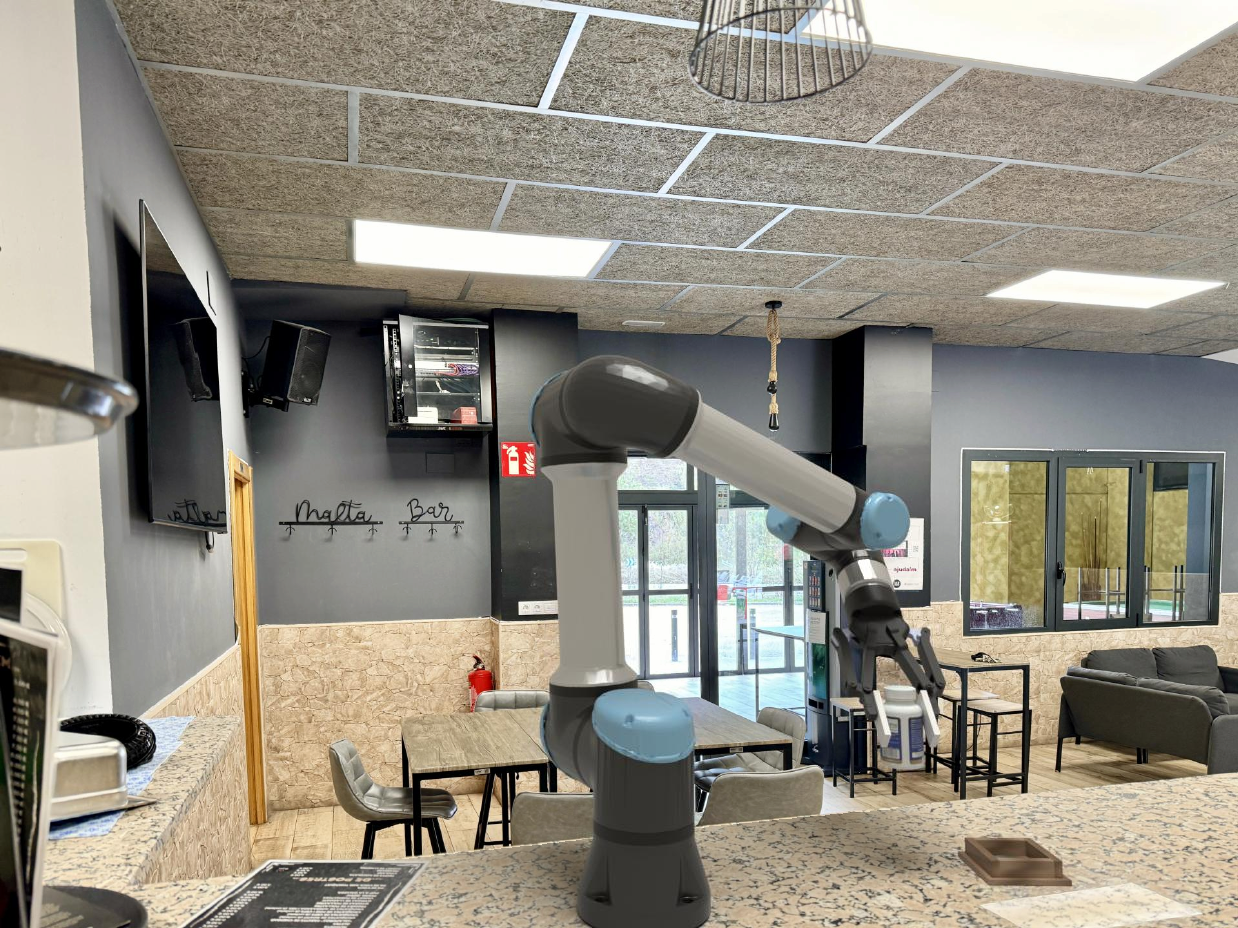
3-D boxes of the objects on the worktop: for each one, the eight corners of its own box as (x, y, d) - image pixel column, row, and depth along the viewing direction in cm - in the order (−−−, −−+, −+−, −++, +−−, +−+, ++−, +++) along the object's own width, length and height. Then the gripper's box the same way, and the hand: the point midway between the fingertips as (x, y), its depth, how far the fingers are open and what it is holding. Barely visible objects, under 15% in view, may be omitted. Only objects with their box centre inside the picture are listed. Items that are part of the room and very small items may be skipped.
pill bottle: (918, 760, 111) (915, 684, 112) (929, 770, 106) (926, 691, 107) (876, 759, 112) (873, 683, 113) (885, 770, 106) (882, 690, 107)
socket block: (988, 884, 103) (987, 862, 104) (958, 855, 113) (957, 835, 114) (1072, 885, 103) (1070, 863, 103) (1033, 856, 113) (1032, 836, 113)
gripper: (927, 616, 126) (977, 757, 108) (802, 616, 126) (832, 757, 108) (938, 581, 121) (993, 723, 103) (809, 581, 121) (840, 723, 103)
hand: (910, 740), depth 105 cm, fingers closed on pill bottle, 5 cm apart
